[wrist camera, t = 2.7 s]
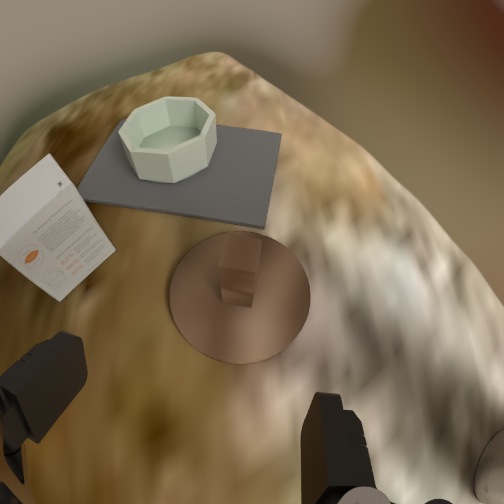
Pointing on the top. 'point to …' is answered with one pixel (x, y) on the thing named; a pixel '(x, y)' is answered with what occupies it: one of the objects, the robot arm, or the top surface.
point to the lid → (239, 297)
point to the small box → (50, 230)
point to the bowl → (169, 139)
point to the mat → (194, 180)
